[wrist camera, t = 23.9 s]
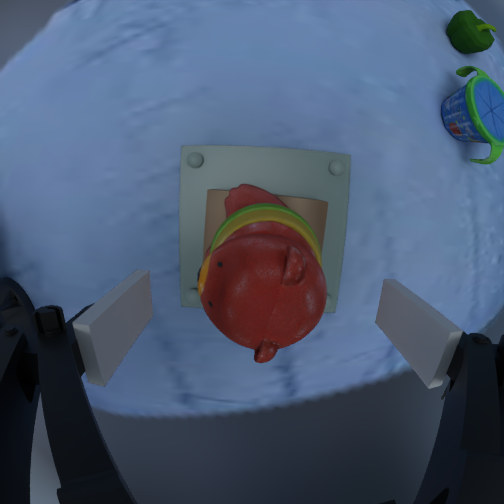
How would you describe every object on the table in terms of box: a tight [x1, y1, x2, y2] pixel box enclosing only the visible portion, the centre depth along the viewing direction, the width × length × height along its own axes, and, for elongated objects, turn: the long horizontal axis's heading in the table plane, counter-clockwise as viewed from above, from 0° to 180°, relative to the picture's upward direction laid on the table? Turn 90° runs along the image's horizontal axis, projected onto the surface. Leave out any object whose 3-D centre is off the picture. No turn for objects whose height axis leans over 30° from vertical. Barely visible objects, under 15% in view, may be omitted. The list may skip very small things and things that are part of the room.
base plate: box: [179, 145, 351, 313], centre depth 36 cm, size 22×22×2 cm
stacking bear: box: [197, 184, 327, 363], centre depth 22 cm, size 11×10×18 cm
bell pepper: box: [447, 10, 496, 54], centre depth 23 cm, size 8×8×10 cm
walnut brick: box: [203, 189, 329, 262], centre depth 33 cm, size 13×10×6 cm
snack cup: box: [441, 66, 504, 164], centre depth 27 cm, size 16×10×10 cm
